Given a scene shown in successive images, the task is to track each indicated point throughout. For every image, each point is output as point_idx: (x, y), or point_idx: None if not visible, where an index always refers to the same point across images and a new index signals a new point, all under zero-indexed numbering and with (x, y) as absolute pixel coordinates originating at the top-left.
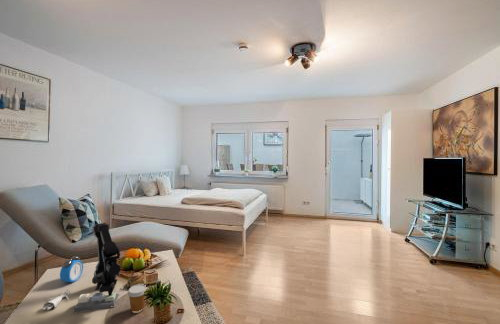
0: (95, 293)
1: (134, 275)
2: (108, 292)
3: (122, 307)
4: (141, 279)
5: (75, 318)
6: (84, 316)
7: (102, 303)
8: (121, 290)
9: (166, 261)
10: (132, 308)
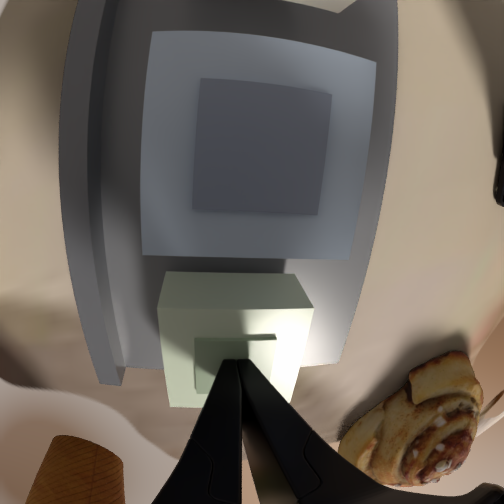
0: (337, 88)
1: (440, 471)
2: (203, 408)
3: (106, 402)
4: (384, 481)
5: (10, 11)
6: (4, 83)
7: (88, 263)
8: (405, 341)
9: (492, 419)
10: (42, 462)
